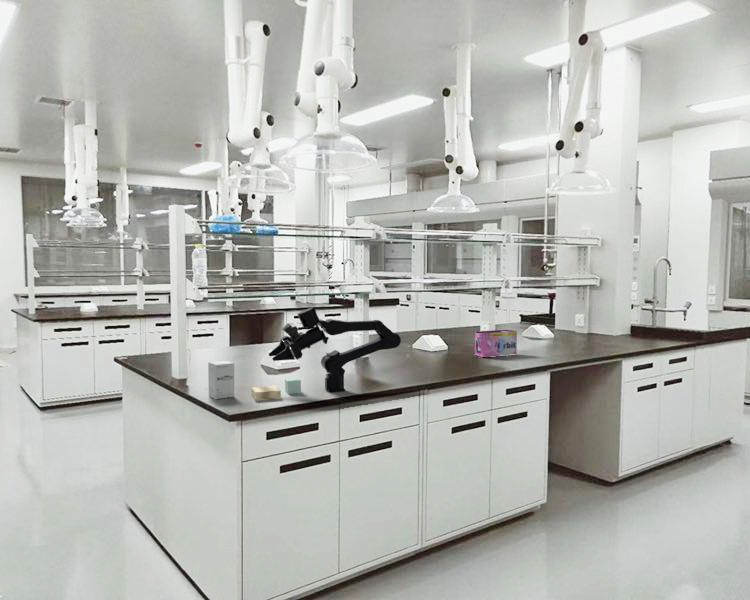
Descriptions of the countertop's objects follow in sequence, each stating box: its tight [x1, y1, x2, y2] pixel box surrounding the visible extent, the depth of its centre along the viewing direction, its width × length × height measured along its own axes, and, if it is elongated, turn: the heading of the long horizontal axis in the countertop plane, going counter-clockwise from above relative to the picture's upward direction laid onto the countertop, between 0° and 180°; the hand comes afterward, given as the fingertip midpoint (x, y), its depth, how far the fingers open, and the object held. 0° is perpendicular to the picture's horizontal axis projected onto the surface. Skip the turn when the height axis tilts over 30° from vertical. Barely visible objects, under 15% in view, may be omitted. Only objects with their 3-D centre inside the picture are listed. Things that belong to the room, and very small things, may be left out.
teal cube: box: [284, 377, 302, 395], centre depth 209 cm, size 5×5×5 cm
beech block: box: [251, 385, 282, 402], centre depth 201 cm, size 9×9×4 cm
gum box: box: [474, 329, 518, 357], centre depth 298 cm, size 24×8×14 cm, turn 117°
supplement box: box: [207, 360, 235, 400], centre depth 202 cm, size 7×7×13 cm
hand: (270, 357), depth 205 cm, fingers open, 9 cm apart
